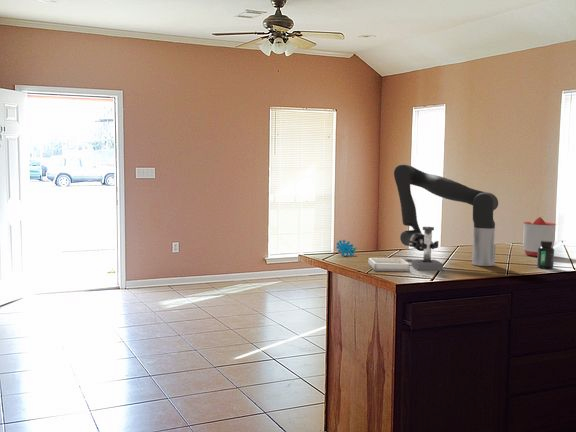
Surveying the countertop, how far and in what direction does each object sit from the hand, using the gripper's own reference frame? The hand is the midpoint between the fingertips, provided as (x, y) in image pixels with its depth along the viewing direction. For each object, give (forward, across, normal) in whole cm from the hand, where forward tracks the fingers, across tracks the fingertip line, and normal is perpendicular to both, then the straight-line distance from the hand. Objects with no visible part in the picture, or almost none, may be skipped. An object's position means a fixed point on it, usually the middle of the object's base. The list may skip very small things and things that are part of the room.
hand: (429, 246), depth 267 cm
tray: (-3, -17, +10) cm, 20 cm away
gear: (-37, -31, +10) cm, 50 cm away
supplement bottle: (-10, +56, +10) cm, 58 cm away
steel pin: (-3, 0, +10) cm, 10 cm away
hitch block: (-3, 0, +10) cm, 10 cm away
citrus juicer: (-50, +70, +10) cm, 86 cm away
